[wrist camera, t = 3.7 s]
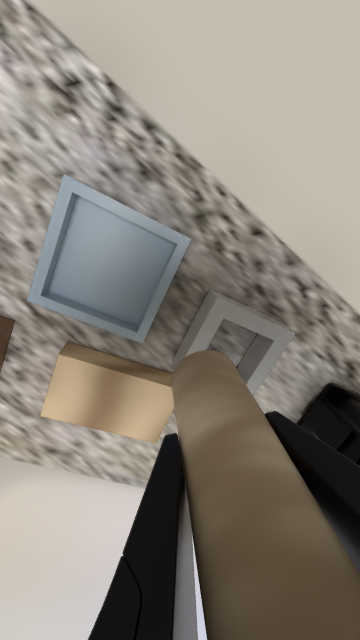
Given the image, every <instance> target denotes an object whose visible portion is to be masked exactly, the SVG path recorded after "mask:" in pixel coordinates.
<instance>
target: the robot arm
mask: <svg viewBox="0 0 360 640" xmlns="http://www.w3.org/2000/svg"><path fill="white" fill-rule="evenodd" d="M264 415H265V417H266V418H267V420H268V422H269V423H270V425H271V427H272V428H273V430H274V432H275V433H276V435H277V437H278V438H279V440H280V442H281V443H282V445H283V447H284V448H285V450H286V452H287V453H288V455H289V457H290V458H291V460H292V462H293V463H294V465H295V467H296V468H297V470H298V472H299V473H300V475H301V477H302V478H303V480H304V481H305V483H306V485H307V486H308V488H309V490H310V491H311V493H312V495H313V496H314V498H315V500H316V501H317V503H318V505H319V506H320V508H321V510H322V511H323V513H324V515H325V516H326V518H327V520H328V521H329V523H330V525H331V526H332V528H333V530H334V531H335V533H336V535H337V536H338V538H339V540H340V541H341V543H342V545H343V546H344V548H345V549H346V551H347V553H348V554H349V556H350V558H351V559H352V561H353V563H354V564H355V566H356V568H357V569H358V571H359V573H360V394H358V393H355V392H353V391H350V390H348V389H346V388H343V387H341V386H338V385H336V384H333V383H332V384H329V385H328V386H327V387H326V388H325V390H324V391H323V392H322V393H321V395H320V396H319V397H318V399H317V400H316V401H315V403H314V404H313V405H312V406H311V408H310V409H309V410H308V412H307V413H306V414H305V416H304V417H303V418H302V419H301V421H300V422H299V423H298V425H297V424H295V423H294V422H292V421H291V420H289V419H288V418H286V417H285V416H283V415H282V414H280V413H279V412H277V411H273V412H268V413H265V414H264ZM194 581H195V580H194V562H193V545H192V528H191V521H190V513H189V506H188V499H187V492H186V485H185V478H184V471H183V464H182V457H181V450H180V444H179V439H178V435H177V434H176V433H173V434H168V435H165V437H164V439H163V442H162V445H161V447H160V450H159V453H158V456H157V458H156V461H155V464H154V467H153V470H152V472H151V475H150V478H149V481H148V483H147V486H146V489H145V492H144V495H143V497H142V500H141V503H140V506H139V508H138V511H137V514H136V517H135V520H134V522H133V525H132V528H131V531H130V534H129V536H128V539H127V542H126V545H125V547H124V550H123V556H121V558H120V561H119V564H118V566H117V569H116V572H115V575H114V577H113V580H112V583H111V585H110V588H109V590H108V593H107V596H106V598H105V601H104V603H103V606H102V608H101V611H100V613H99V615H98V617H97V620H96V622H95V625H94V627H93V629H92V631H91V634H90V636H89V638H88V640H198V633H197V616H196V599H195V598H196V597H195V582H194Z"/></svg>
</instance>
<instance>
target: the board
mask: <svg viewBox="0 0 360 640" xmlns="http://www.w3.org/2000/svg"><path fill="white" fill-rule="evenodd" d="M171 377H172V374H171V373H168V372H165V371H162V370H158V369H155V368H152V367H148V366H145V365H142V364H139V363H135V362H132V361H129V360H126V359H122V358H119V357H116V356H113V355H109V354H106V353H103V352H100V351H96V350H93V349H90V348H86V347H83V346H80V345H77V344H73V343H70V342H67V344H66V345H65V346H64V348H63V349H62V350H61V352H60V353H59V354H58V358H57V361H56V365H55V368H54V371H53V375H52V378H51V382H50V385H49V388H48V392H47V395H46V399H45V402H44V406H43V409H42V412H41V416H43V417H47V418H51V419H55V420H60V421H64V422H68V423H72V424H77V425H81V426H85V427H89V428H94V429H98V430H102V431H106V432H111V433H115V434H119V435H124V436H128V437H132V438H136V439H141V440H145V441H149V442H153V443H157V441H158V439H159V437H160V435H161V433H162V431H163V429H164V427H165V425H166V423H167V421H168V419H169V417H170V415H171V413H172V411H173V409H174V400H173V393H172V386H171Z"/></svg>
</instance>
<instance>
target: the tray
mask: <svg viewBox="0 0 360 640" xmlns="http://www.w3.org/2000/svg"><path fill="white" fill-rule="evenodd" d="M190 241H191V239H190V238H188V237H186V236H184V235H182V234H180V233H178V232H176V231H174V230H172V229H171V228H169V227H167V226H165V225H163V224H161V223H159V222H157V221H155V220H153V219H151V218H149V217H147V216H145V215H143V214H141V213H139V212H137V211H135V210H133V209H131V208H129V207H127V206H125V205H123V204H122V203H120V202H118V201H116V200H114V199H112V198H110V197H108V196H106V195H104V194H102V193H100V192H98V191H96V190H94V189H92V188H90V187H88V186H86V185H84V184H82V183H80V182H78V181H76V180H74V179H72V178H71V177H69V176H67V175H65V174H64V175H63V178H62V182H61V185H60V189H59V192H58V196H57V199H56V202H55V206H54V209H53V213H52V216H51V220H50V223H49V227H48V230H47V233H46V237H45V240H44V244H43V247H42V251H41V254H40V258H39V261H38V264H37V268H36V271H35V275H34V278H33V282H32V285H31V289H30V292H29V296H28V299H27V301H29V302H32V303H34V304H37V305H40V306H42V307H45V308H48V309H50V310H53V311H56V312H58V313H61V314H64V315H66V316H69V317H72V318H74V319H77V320H80V321H82V322H85V323H88V324H90V325H93V326H96V327H98V328H101V329H104V330H106V331H109V332H112V333H114V334H117V335H120V336H123V337H125V338H128V339H131V340H133V341H136V342H139V343H141V344H143V342H144V339H145V337H146V335H147V333H148V331H149V329H150V327H151V324H152V322H153V320H154V318H155V316H156V314H157V312H158V309H159V307H160V305H161V303H162V301H163V299H164V297H165V294H166V292H167V290H168V288H169V286H170V284H171V282H172V279H173V277H174V275H175V273H176V271H177V269H178V267H179V264H180V262H181V260H182V258H183V256H184V254H185V252H186V250H187V247H188V245H189V243H190Z"/></svg>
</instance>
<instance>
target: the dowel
mask: <svg viewBox="0 0 360 640" xmlns="http://www.w3.org/2000/svg"><path fill="white" fill-rule="evenodd" d="M171 386H172V393H173V400H174V407H175V414H176V421H177V428H178V435H179V443H180V450H181V457H182V464H183V471H184V478H185V485H186V492H187V499H188V506H189V513H190V521H191V528H192V535H193V542H194V549H195V556H196V563H197V569H198V577H199V584H200V591H201V598H202V606H203V613H204V620H205V627H206V634H207V640H360V573H359V571H358V569H357V568H356V566H355V564H354V563H353V561H352V559H351V558H350V556H349V554H348V553H347V551H346V549H345V548H344V546H343V545H342V543H341V541H340V540H339V538H338V536H337V535H336V533H335V531H334V530H333V528H332V526H331V525H330V523H329V521H328V520H327V518H326V516H325V515H324V513H323V511H322V510H321V508H320V506H319V505H318V503H317V501H316V500H315V498H314V496H313V495H312V493H311V491H310V490H309V488H308V486H307V485H306V483H305V481H304V480H303V478H302V477H301V475H300V473H299V472H298V470H297V468H296V467H295V465H294V463H293V462H292V460H291V458H290V457H289V455H288V453H287V452H286V450H285V448H284V447H283V445H282V443H281V442H280V440H279V438H278V437H277V435H276V433H275V432H274V430H273V428H272V427H271V425H270V423H269V422H268V420H267V418H266V417H265V415H264V413H263V412H262V410H261V409H260V407H259V405H258V404H257V402H256V400H255V399H254V397H253V395H252V394H251V392H250V390H249V389H248V387H247V385H246V384H245V382H244V380H243V379H242V377H241V375H240V374H239V372H238V370H237V369H236V367H235V365H234V364H233V362H232V361H231V359H229V358H228V357H227V356H226V355H224V354H223V353H220V352H218V351H213V350H202V351H197V352H194V353H191V354H189V355H188V356H186V357H185V358H183V359H182V360H181V361H180V362H179V363H178V364H177V366H176V367H175V369H174V371H173V373H172V377H171Z"/></svg>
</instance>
